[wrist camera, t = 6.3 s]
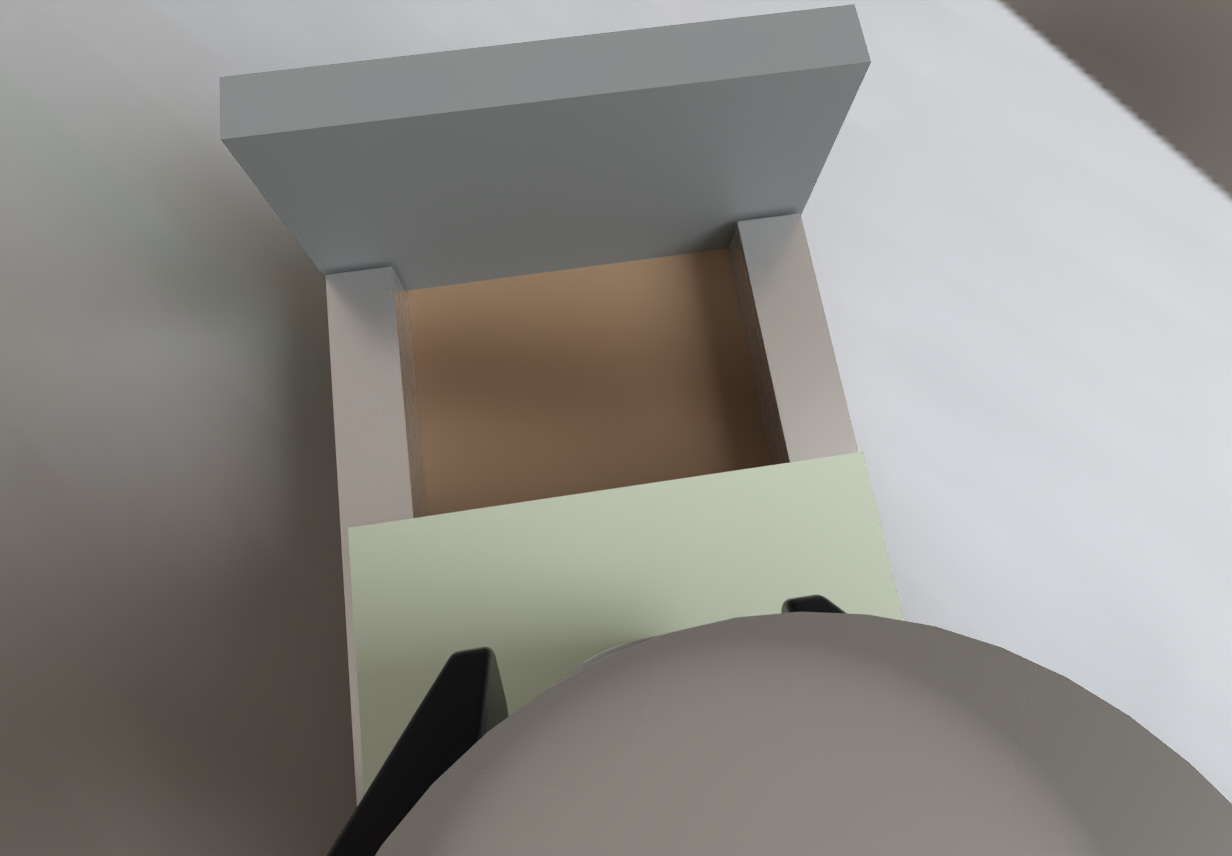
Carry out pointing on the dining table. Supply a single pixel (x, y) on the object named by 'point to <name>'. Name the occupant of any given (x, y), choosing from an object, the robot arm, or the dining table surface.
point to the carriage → (737, 690)
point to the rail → (562, 258)
